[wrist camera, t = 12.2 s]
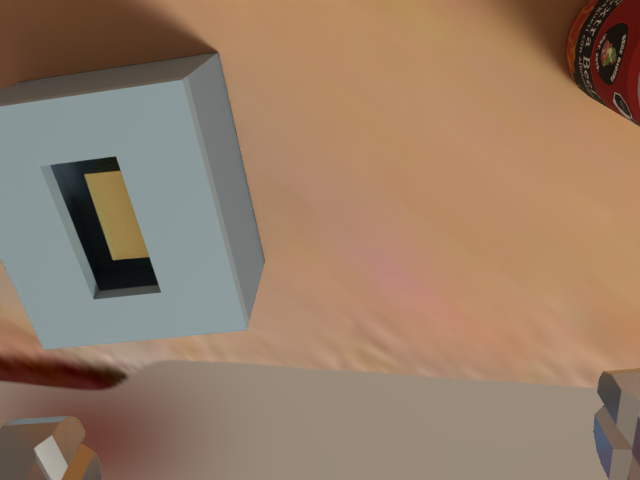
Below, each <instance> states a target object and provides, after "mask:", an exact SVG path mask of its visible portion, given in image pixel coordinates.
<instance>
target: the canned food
mask: <svg viewBox="0 0 640 480" xmlns="http://www.w3.org/2000/svg"><path fill="white" fill-rule="evenodd" d="M566 57H567V62H568V67H569V71H570V73H571V75H572V78H573V80H574V81H575V83H576V84H577V85H578V87H579V88H580V89H581V90H582V91H583V92H584V93H585V94H587V95H588V96H589V97H591V98H593V99H594V100H596V101H598V102H599V103H601V104H603V105H604V106H606V107H608V108H609V109H611V110H613V111H615V112H616V113H618V114H620V115H621V116H623V117H625V118H626V119H628V120H630V121H631V122H633V123H635V124H636V125H638V126H640V0H589V1H588V2H587V4H586V5H585V6H584V7H583V8H582V9H581V10H580V12H579V14H578V15H577V17H576V18H575V20H574V22H573V24H572V26H571V29H570V31H569V35H568V39H567V44H566Z"/></svg>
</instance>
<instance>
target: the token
mask: <svg viewBox="0 0 640 480" xmlns="http://www.w3.org/2000/svg"><path fill="white" fill-rule="evenodd" d="M84 176H85V179H86V182H87V185H88V188H89V191H90V194H91V197H92V200H93V203H94V206H95V209H96V212H97V215H98V218H99V220H100V223H101V226H102V229H103V232H104V235H105V238H106V241H107V244H108V247H109V250H110V253H111V256H112V259H113V260H120V259H132V258H143V257H149V254H148V251H147V248H146V245H145V242H144V239H143V236H142V233H141V230H140V227H139V224H138V221H137V218H136V215H135V212H134V209H133V206H132V203H131V200H130V197H129V194H128V191H127V188H126V185H125V182H124V179H123V176H122V173H121V170H120V167H119V164H118V161H117V158H116V156H114V157H106V158H103V159H102V160H101V161H99V162H98V163H97V164H96V165H95V166H93V167H92V168H91V169H90V170H89V171H88V172H86V173H85V174H84Z"/></svg>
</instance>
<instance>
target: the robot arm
mask: <svg viewBox="0 0 640 480" xmlns="http://www.w3.org/2000/svg"><path fill="white" fill-rule="evenodd" d="M597 393H598V394H599V396H600V398H601V400H602V402H603V403H604V406H603V407H602V408H601V409H600V410H599V411H598V412H597V413H596V414H595V416H594V431H593V432H594V438H595V444H596V450H597V453H598V456H599V459H600V462H601V465H602V467H603V469H604V471H605V473H606V475H607V477H608V479H609V480H640V368H636V369H625V370H614V371H603V372H602V374H601V376H600V378H599V381H598V389H597ZM84 435H85V431H84V429H83V427H82V425H81V424H80V422H79V420H78V418H74V417H70V416H65V417H46V418H30V419H13V420H9V421H8V420H7V421H0V480H102V474H101V468H100V462H99V460H98V458H97V456H96V454H95V452H94V451H92V450H91V449H89V448H88V447H86V446H85V445H83V444H82V440H83V438H84Z"/></svg>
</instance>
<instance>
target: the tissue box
mask: <svg viewBox="0 0 640 480" xmlns="http://www.w3.org/2000/svg"><path fill="white" fill-rule="evenodd" d="M114 156H116V158H117V161H118V164H119V167H120V170H121V173H122V176H123V179H124V182H125V185H126V188H127V191H128V194H129V197H130V200H131V203H132V206H133V209H134V212H135V215H136V218H137V221H138V224H139V227H140V230H141V233H142V236H143V239H144V242H145V245H146V248H147V251H148V254H149V257H143V258H132V259H120V260H113V259H112V256H111V253H110V250H109V247H108V244H107V241H106V238H105V235H104V232H103V229H102V226H101V223H100V220H99V218H98V215H97V212H96V209H95V206H94V203H93V200H92V197H91V194H90V191H89V188H88V185H87V182H86V179H85V176H84V174H85V173H86V172H88V171H89V170H90V169H91V168H92V167H93V166H95V165H96V164H97V163H98V162H99V161H101V160H102V159H103V158H106V157H114ZM0 258H1V260H2V263H3V265H4V267H5V269H6V271H7V273H8V275H9V277H10V279H11V281H12V284H13V286H14V288H15V290H16V292H17V294H18V296H19V298H20V300H21V302H22V305H23V307H24V309H25V311H26V313H27V315H28V317H29V319H30V321H31V323H32V326H33V328H34V330H35V332H36V334H37V336H38V338H39V340H40V342H41V344H42V347H43V349H44V350H47V349H57V348H68V347H78V346H88V345H99V344H109V343H120V342H130V341H141V340H151V339H162V338H172V337H183V336H193V335H204V334H214V333H224V332H235V331H245V330H247V327H248V323H249V320H250V316H251V312H252V308H253V304H254V301H255V297H256V293H257V289H258V285H259V282H260V278H261V274H262V270H263V266H264V263H265V259H264V255H263V250H262V246H261V241H260V237H259V232H258V228H257V223H256V219H255V214H254V210H253V205H252V201H251V196H250V192H249V187H248V183H247V178H246V174H245V169H244V165H243V160H242V156H241V151H240V147H239V142H238V138H237V133H236V129H235V124H234V120H233V115H232V111H231V107H230V102H229V98H228V93H227V89H226V84H225V80H224V75H223V71H222V66H221V62H220V57H219V53H218V52H216V53H209V54H203V55H196V56H189V57H183V58H176V59H170V60H163V61H156V62H150V63H143V64H136V65H130V66H123V67H116V68H110V69H103V70H97V71H90V72H83V73H77V74H70V75H63V76H57V77H50V78H43V79H37V80H30V81H24V82H19V83H17V84H14V85H12V86H9V87H6V88H4V89H1V90H0Z"/></svg>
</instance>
